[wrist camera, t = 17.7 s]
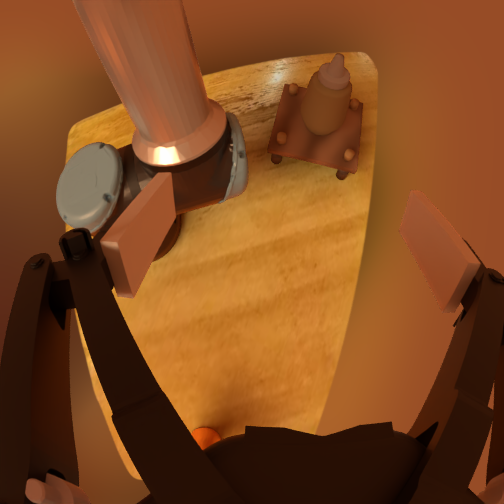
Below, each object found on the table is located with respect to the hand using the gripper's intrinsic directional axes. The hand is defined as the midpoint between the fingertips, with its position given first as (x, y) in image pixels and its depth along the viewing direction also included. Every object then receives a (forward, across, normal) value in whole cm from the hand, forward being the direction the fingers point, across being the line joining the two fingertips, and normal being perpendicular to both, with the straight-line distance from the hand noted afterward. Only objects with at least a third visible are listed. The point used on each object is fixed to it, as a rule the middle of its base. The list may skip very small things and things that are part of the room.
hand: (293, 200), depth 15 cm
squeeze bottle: (+41, +8, -3) cm, 42 cm away
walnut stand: (+46, +8, -8) cm, 47 cm away
